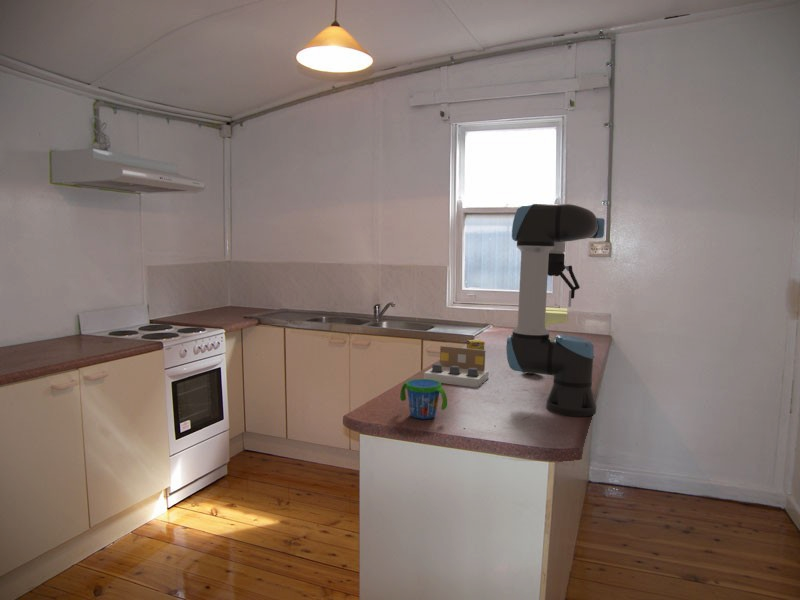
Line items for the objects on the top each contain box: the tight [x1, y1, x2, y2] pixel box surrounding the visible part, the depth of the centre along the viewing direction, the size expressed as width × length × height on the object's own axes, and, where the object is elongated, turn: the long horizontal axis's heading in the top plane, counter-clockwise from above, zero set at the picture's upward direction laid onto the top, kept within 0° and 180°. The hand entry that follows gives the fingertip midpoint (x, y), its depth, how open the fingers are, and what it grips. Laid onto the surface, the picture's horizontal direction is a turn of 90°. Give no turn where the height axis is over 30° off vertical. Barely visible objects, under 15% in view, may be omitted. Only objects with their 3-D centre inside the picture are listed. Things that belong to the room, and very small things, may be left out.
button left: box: [431, 363, 442, 373], centre depth 211 cm, size 4×4×4 cm
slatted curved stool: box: [545, 306, 569, 339], centre depth 298 cm, size 30×16×18 cm, turn 164°
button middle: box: [450, 366, 460, 375], centre depth 209 cm, size 4×4×4 cm
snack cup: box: [399, 378, 448, 420], centre depth 165 cm, size 16×10×10 cm
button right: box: [468, 368, 478, 377], centre depth 206 cm, size 4×4×4 cm
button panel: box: [423, 345, 490, 388], centre depth 211 cm, size 16×21×11 cm
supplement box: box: [466, 339, 485, 350], centre depth 236 cm, size 6×6×11 cm
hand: (552, 305), depth 223 cm, fingers open, 13 cm apart
